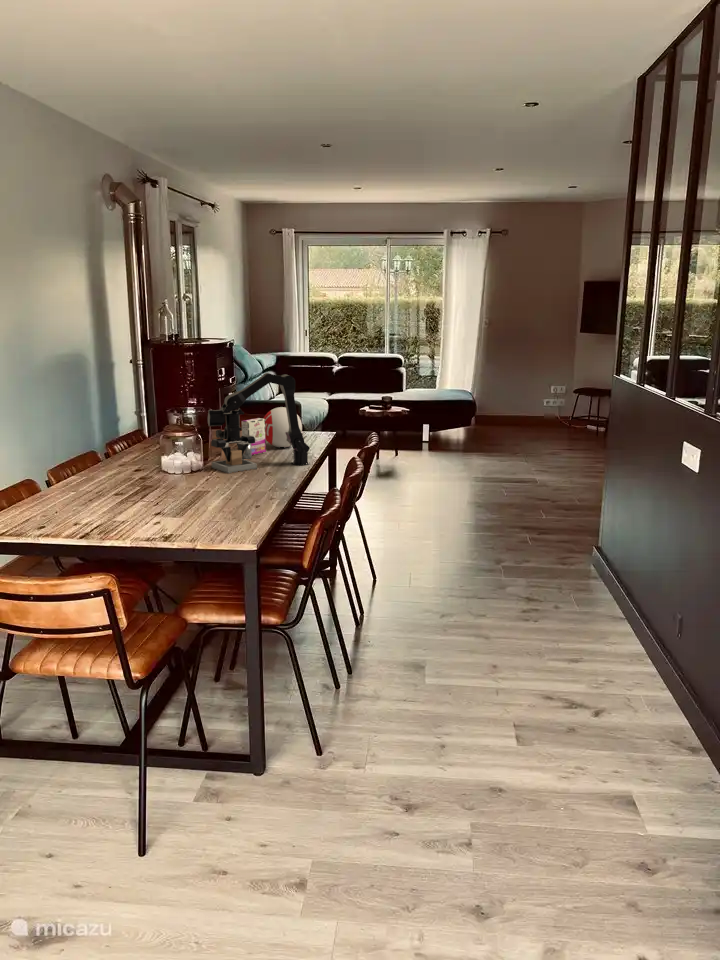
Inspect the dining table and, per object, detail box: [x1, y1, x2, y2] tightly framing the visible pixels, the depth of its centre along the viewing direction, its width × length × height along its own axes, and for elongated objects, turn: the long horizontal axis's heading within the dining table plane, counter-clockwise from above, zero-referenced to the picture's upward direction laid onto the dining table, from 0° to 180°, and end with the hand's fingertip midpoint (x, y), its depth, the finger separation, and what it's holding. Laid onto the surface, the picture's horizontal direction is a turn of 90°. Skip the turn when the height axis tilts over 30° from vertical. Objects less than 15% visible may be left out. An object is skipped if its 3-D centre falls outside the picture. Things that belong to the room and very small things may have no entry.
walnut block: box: [226, 448, 242, 465], centre depth 317 cm, size 5×5×6 cm
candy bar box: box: [241, 417, 267, 456], centre depth 348 cm, size 11×5×16 cm, turn 143°
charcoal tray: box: [211, 459, 258, 474], centre depth 318 cm, size 14×14×2 cm
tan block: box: [221, 449, 226, 461], centre depth 331 cm, size 5×5×5 cm
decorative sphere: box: [263, 406, 303, 448], centre depth 365 cm, size 20×20×20 cm
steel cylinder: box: [242, 443, 253, 460], centre depth 337 cm, size 4×4×7 cm
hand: (234, 461), depth 318 cm, fingers closed on walnut block, 5 cm apart
